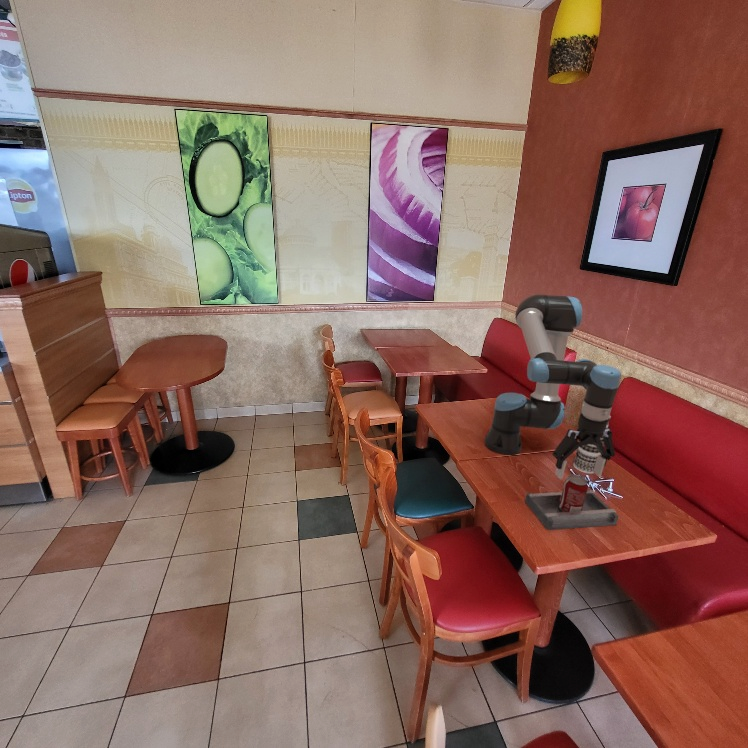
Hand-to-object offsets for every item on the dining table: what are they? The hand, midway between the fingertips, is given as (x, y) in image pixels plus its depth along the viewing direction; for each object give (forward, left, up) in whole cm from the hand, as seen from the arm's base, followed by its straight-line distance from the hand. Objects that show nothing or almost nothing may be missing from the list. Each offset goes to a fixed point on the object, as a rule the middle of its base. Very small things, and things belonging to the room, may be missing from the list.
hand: (577, 475), depth 129 cm
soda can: (0, 0, -13) cm, 13 cm away
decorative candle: (-25, +24, -14) cm, 37 cm away
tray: (0, 0, -14) cm, 14 cm away
